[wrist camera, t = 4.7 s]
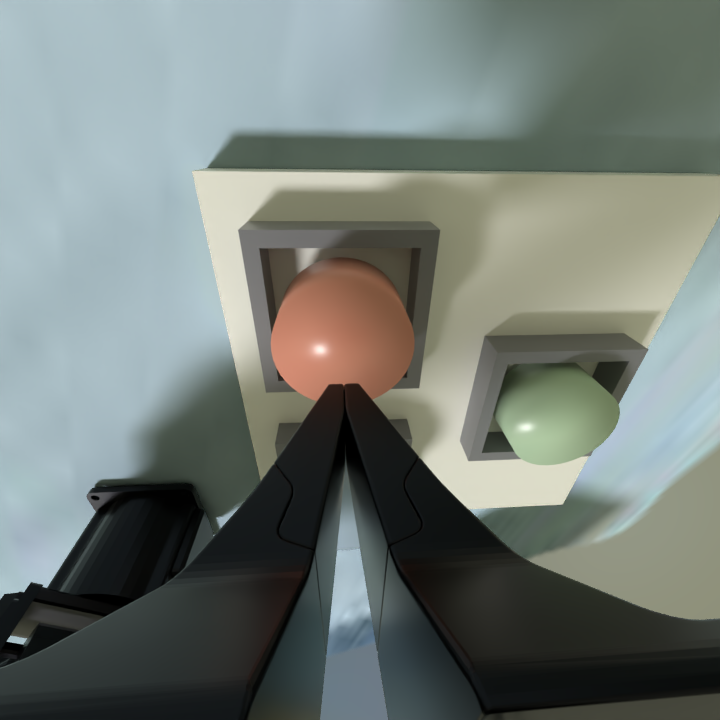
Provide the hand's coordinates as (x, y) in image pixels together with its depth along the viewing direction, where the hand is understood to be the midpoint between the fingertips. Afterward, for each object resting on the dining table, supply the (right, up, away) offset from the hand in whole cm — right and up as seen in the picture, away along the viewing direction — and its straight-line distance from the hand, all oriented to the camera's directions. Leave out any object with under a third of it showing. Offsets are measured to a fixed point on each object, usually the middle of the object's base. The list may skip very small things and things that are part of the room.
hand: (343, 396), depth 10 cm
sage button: (+10, -1, +8) cm, 13 cm away
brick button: (0, +3, +4) cm, 5 cm away
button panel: (+5, 0, +9) cm, 10 cm away
